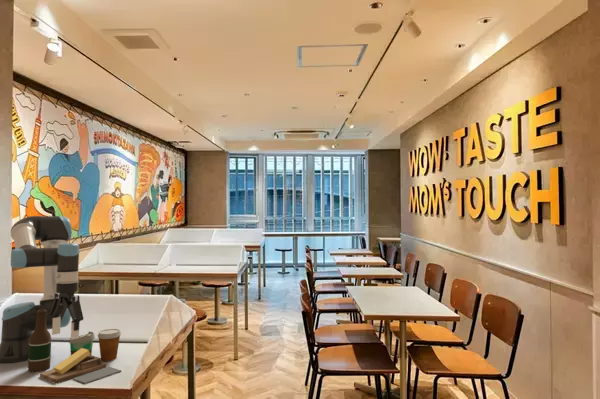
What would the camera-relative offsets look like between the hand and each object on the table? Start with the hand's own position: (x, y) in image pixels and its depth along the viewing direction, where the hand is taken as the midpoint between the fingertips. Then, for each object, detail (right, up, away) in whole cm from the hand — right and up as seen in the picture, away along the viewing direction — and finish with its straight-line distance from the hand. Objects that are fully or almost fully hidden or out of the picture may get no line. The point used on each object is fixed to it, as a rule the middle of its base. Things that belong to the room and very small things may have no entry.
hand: (65, 336), depth 158 cm
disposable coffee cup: (+8, -17, +19) cm, 26 cm away
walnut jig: (+2, -15, +3) cm, 16 cm away
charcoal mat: (+13, -15, -1) cm, 20 cm away
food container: (-3, -17, +20) cm, 26 cm away
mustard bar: (+2, -12, +3) cm, 12 cm away
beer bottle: (-14, -16, +6) cm, 22 cm away
